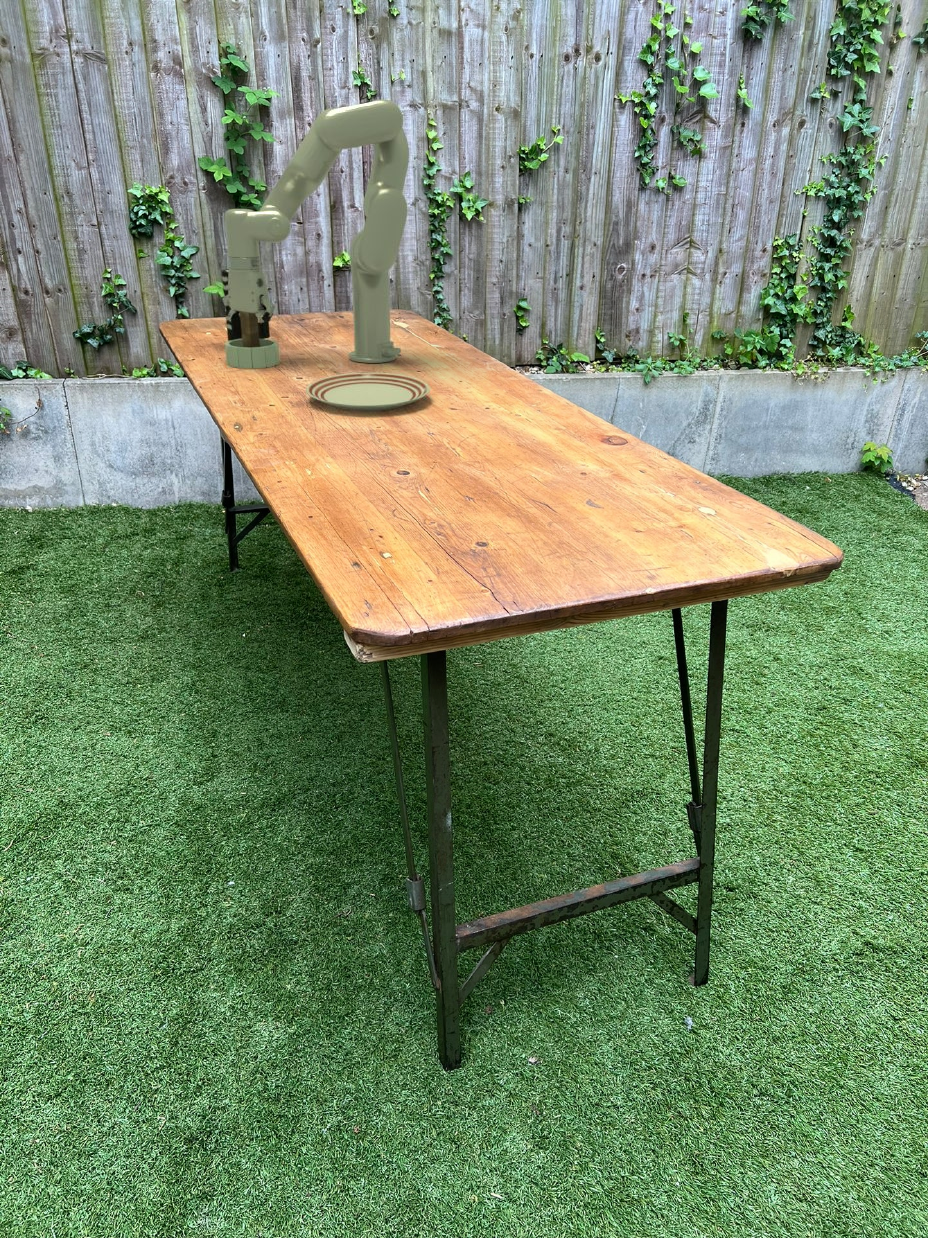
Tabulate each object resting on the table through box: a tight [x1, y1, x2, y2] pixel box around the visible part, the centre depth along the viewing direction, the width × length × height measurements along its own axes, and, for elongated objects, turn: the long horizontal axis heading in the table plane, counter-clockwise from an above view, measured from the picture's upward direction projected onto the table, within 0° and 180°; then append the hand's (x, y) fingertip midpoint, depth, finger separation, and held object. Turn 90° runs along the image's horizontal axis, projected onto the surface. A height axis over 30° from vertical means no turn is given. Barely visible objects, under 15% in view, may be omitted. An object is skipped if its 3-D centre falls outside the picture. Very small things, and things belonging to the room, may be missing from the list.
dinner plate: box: [305, 372, 431, 412], centre depth 203 cm, size 28×27×3 cm
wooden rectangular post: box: [240, 312, 260, 348], centre depth 231 cm, size 3×3×14 cm
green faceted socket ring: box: [224, 338, 281, 370], centre depth 233 cm, size 13×13×5 cm
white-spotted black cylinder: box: [220, 268, 242, 342], centre depth 246 cm, size 8×8×20 cm
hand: (250, 335), depth 231 cm, fingers open, 9 cm apart
